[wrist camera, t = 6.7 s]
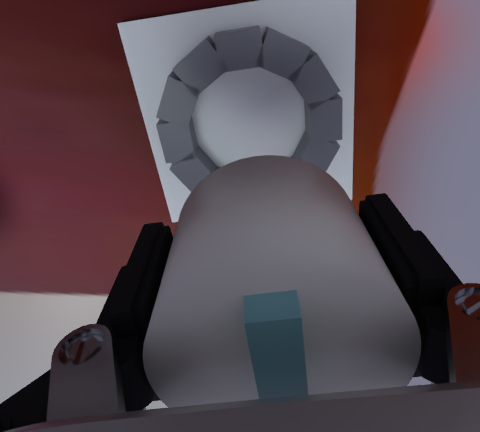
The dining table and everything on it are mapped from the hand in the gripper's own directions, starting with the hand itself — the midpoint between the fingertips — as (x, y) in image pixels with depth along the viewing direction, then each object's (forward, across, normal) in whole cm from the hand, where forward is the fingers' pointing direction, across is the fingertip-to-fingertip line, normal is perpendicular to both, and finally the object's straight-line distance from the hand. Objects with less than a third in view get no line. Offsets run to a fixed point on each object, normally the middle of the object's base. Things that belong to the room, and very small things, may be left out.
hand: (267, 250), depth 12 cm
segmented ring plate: (+16, 0, 0) cm, 16 cm away
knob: (+1, 0, 0) cm, 1 cm away
